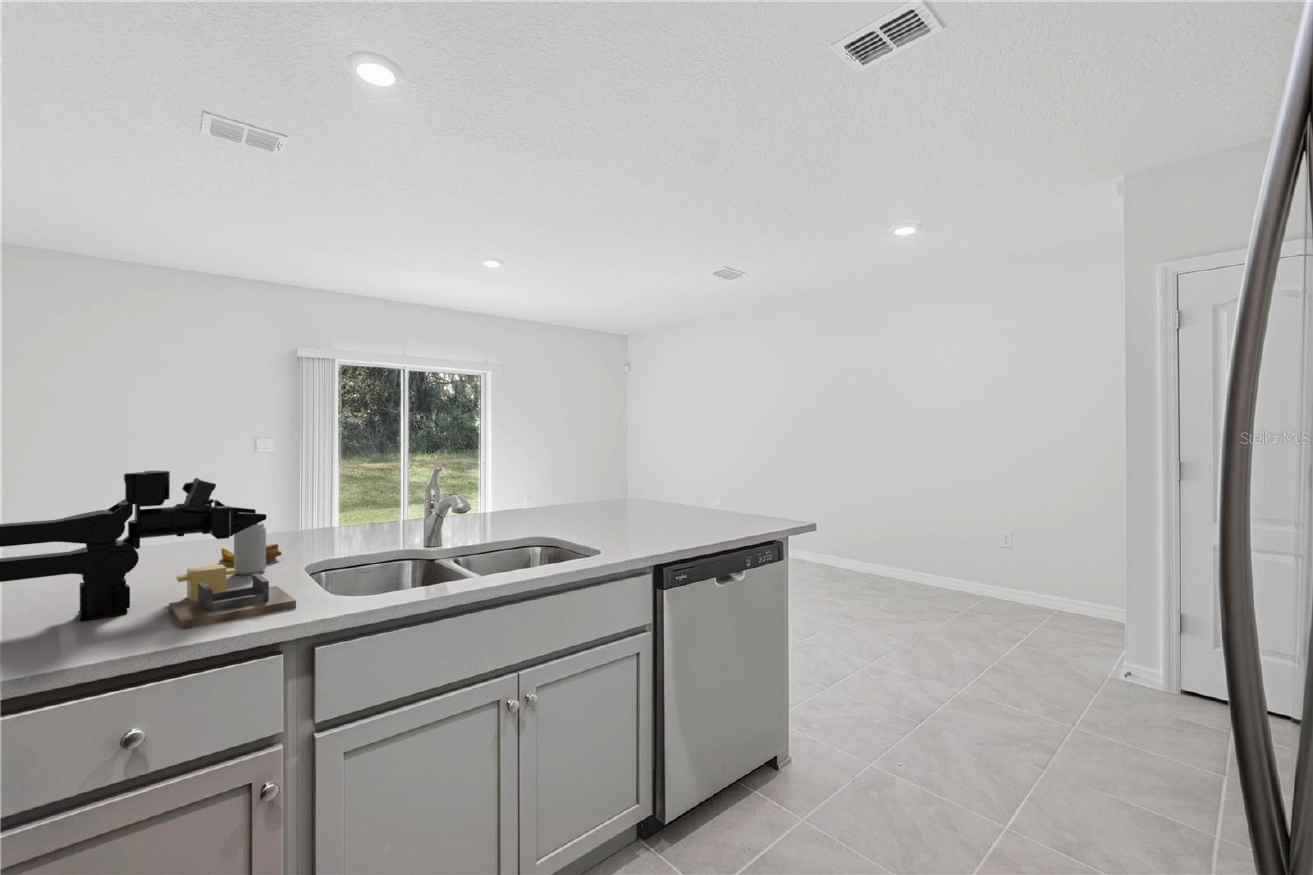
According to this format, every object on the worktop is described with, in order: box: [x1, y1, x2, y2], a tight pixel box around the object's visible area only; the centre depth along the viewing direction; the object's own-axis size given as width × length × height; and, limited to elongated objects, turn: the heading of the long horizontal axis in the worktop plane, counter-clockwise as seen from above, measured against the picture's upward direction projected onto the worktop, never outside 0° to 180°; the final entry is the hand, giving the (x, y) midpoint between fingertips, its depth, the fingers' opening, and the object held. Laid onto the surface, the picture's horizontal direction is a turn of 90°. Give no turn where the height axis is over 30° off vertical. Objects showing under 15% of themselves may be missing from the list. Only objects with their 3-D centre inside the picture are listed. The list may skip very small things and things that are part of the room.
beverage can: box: [233, 521, 267, 576], centre depth 142 cm, size 6×6×12 cm
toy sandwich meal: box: [218, 543, 282, 568], centre depth 153 cm, size 12×14×5 cm
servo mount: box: [168, 573, 297, 630], centre depth 115 cm, size 18×14×6 cm
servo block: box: [176, 563, 237, 600], centre depth 123 cm, size 10×4×6 cm, turn 137°
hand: (260, 514), depth 129 cm, fingers open, 9 cm apart
